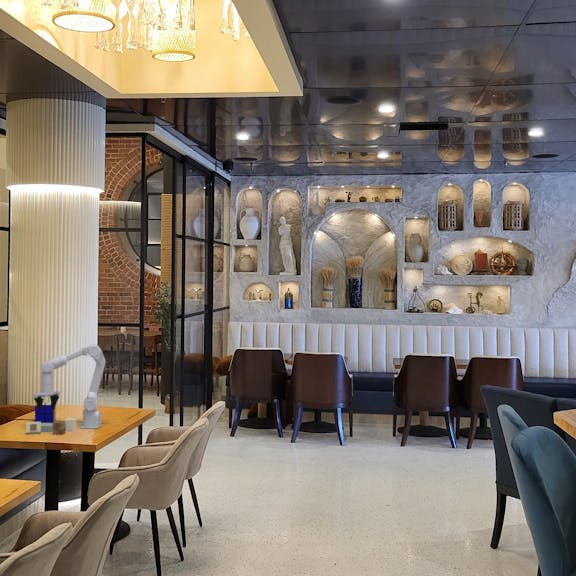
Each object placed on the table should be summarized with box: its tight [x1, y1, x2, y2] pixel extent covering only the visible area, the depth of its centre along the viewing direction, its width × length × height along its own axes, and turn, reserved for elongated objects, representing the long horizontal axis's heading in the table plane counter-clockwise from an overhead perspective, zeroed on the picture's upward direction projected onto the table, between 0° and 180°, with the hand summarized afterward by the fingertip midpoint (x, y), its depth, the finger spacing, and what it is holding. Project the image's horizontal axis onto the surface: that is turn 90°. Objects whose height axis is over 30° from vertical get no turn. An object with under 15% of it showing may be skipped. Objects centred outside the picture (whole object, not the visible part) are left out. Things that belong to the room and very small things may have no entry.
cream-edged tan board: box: [25, 421, 42, 435], centre depth 377 cm, size 7×4×6 cm, turn 107°
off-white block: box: [63, 417, 77, 432], centre depth 387 cm, size 5×5×6 cm
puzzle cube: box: [34, 401, 57, 423], centre depth 412 cm, size 10×10×10 cm
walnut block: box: [52, 420, 66, 436], centre depth 377 cm, size 5×5×6 cm
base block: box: [41, 423, 53, 433], centre depth 386 cm, size 8×8×4 cm
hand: (46, 410), depth 390 cm, fingers open, 7 cm apart
